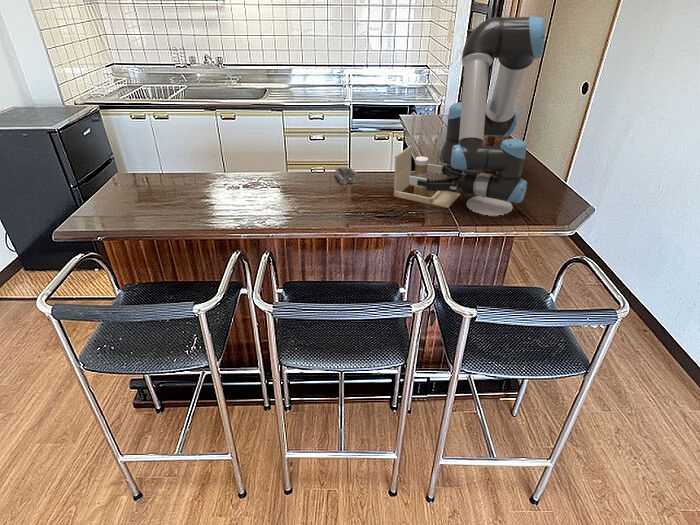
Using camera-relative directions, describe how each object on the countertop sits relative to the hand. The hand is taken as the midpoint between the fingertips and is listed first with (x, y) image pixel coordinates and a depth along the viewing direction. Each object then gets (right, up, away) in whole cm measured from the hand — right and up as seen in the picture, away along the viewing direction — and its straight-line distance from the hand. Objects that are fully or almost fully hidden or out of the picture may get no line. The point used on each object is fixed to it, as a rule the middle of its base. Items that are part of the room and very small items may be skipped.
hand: (417, 173), depth 155 cm
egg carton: (-25, +1, +18) cm, 31 cm away
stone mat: (+24, -13, -6) cm, 27 cm away
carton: (+4, -8, +3) cm, 9 cm away
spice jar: (+1, -7, +4) cm, 8 cm away
